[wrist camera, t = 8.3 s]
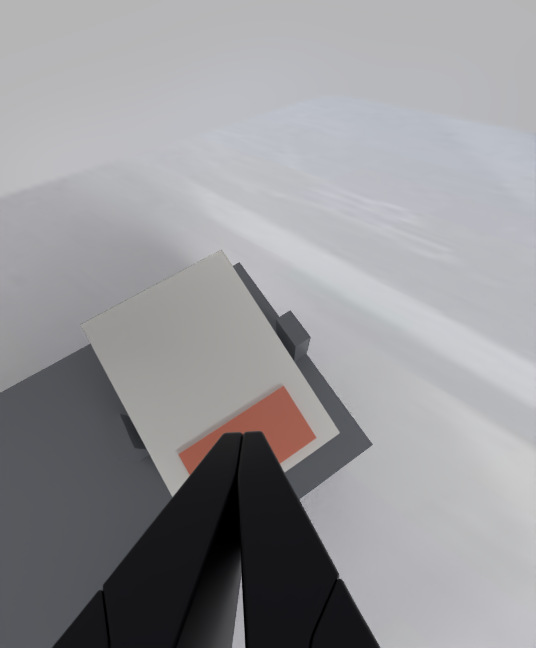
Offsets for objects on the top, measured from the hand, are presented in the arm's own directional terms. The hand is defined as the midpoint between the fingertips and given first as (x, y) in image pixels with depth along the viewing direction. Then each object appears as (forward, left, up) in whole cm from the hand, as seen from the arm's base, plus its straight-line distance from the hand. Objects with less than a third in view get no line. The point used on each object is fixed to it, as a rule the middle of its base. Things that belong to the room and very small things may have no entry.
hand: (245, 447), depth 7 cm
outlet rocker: (+3, 0, -3) cm, 4 cm away
